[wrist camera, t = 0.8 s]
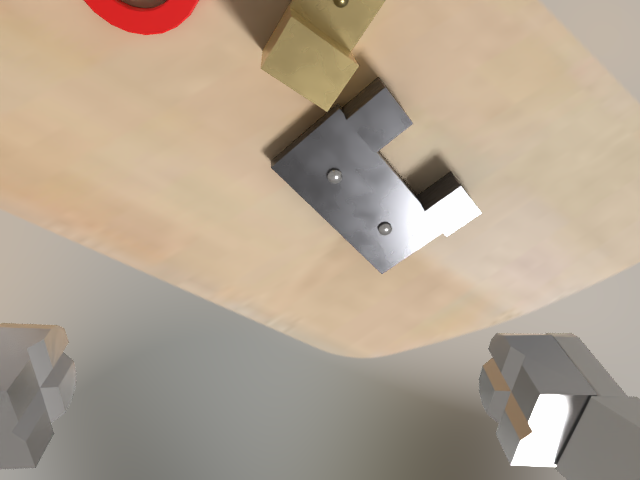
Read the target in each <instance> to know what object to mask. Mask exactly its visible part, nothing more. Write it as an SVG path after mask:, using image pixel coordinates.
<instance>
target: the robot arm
mask: <svg viewBox="0 0 640 480" xmlns="http://www.w3.org/2000/svg"><path fill="white" fill-rule="evenodd" d="M68 343H69V341H68V338H67V335H66V332H65V329H64V328H62V327H60V326H58V325H37V324H12V323H11V324H10V323H1V324H0V469H18V468H36V466H37V464H38V462H39V461H40V459H41V457H42V455H43V453H44V451H45V450H46V447H47V446H48V444H49V442H50V440H51V439H52V437H53V435H54V432H53V428H52V425H51V423H52V422H53V421H54V420H56V419H57V418H59V417H60V416H61V415H63V414H64V413H66V411H67V409H68V407H69V405H70V403H71V401H72V399H73V395H74V390H75V386H76V368H75V364H74V361H73V360H72V359H71V358H70V357H69V356H67V355H66V354H65V353H64V352H63V351H64V349H65V348H66V346H67V345H68ZM488 349H489V351H490V353H491V355H492V357H493V358H492V359H490V360H489V361H488V362H487V363H485V364H484V365H483V367H482V370H481V374H480V378H479V389H480V390H479V392H480V397H481V400H482V404H483V406H484V408H485V411H486V413H487V414H488V415H489V416H490V417H492V418H493V419H494V420H495V421H496V422H498V423H499V426H498V429H497V432H496V435H497V437H498V439H499V441H500V443H501V446H502V448H503V450H504V452H505V454H506V456H507V459H508V461H509V463H510V465H522V466H523V465H524V466H556V468H555V469H556V470H557V471H558V472H559V473H560V474H561V475H563V477H565V478H566V479H567V480H640V399H639V398H637V397H628V396H627V395H626V394H625V393H624V391H623V390H622V389H621V388H620V387H619V385H617V383H616V382H615V381H614V379H613V378H612V377H611V376H610V374H609V373H608V372H607V371H606V370H605V369H604V367H603V366H602V365H601V364H600V363H599V361H598V360H597V359H596V358H595V356H594V355H593V354H592V353H591V352H590V350H589V349H588V348H587V347H586V346H585V344H584V343H583V342H582V341H581V340H580V338H578V337H577V336H575V335H574V334H572V333H546V334H514V333H512V334H511V333H506V334H505V333H497V334H495V336H494V337H493V338H492V339H491V342H490V345H489V348H488Z"/></svg>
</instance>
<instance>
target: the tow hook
mask: <svg viewBox="0 0 640 480" xmlns="http://www.w3.org/2000/svg"><path fill="white" fill-rule="evenodd" d="M84 1H85V2H86V3H87V5H88V6H89V7H90V8H91V9H92V10H93V11H94V12H95V13H96V14H97V15H99V16H100V17H102V18H103V19H104V20H106V21H107V22H109V23H110V24H111V25H114V26H116V27H118V28H120V29H123V30H125V31H127V32H131V33H137V34H143V35H150V34H160V33H164V32H166V31H169V30H171V29H173V28H176V27H177V26H178V25H180V24H181V23H182V22H183V21H184V20H185V19H186V18H188V17H189V16H190V15H191V13H192V12H193V10H194V8H195V7H196V5H197V3H198V2H199V0H167V1H166V2H165V3H164V4H161V5H159V6H157V7H154V8H138V7H133V6H131V5H128V4H126V3H124V2H122V1H120V0H84Z"/></svg>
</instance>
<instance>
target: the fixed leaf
mask: <svg viewBox="0 0 640 480" xmlns="http://www.w3.org/2000/svg"><path fill="white" fill-rule="evenodd" d="M412 124H413V123H412V121H411V120H410V118H409V117H408V116H407V114H406V113H405V111H404V110H403V109H402V107H401V106H400V105H399V103H398V102H397V101H396V100H395V98H394V97H393V96H392V94H391V93H390V92H389V90H388V89H387V88H386V86H385V85H384V84H383V83H382V81H381V80H380V79H379V77H378V78H377V79H376V80H374V81H373V82H372V83H371V84H370V85H369V86H367V87H366V88H365V89H364V90H363V91H362V92H360V93H359V94H358V95H357V96H356V97H355V98H353V99H352V100H351V101H350V102H349V103H348V104H346V105H345V106H344V107H343V108H341V107H340V106H339V104H337V105H336V106H334V107H333V108H332V109H331V110H330V111H329V112H327V113H326V114H325V115H324V116H323V117H322V118H320V119H319V120H318V121H317V122H316V123H315V124H314V125H312V126H311V127H310V128H309V129H308V130H307V131H305V132H304V133H303V134H302V135H301V136H300V137H299V138H297V139H296V140H295V141H294V142H293V143H292V144H290V145H289V146H288V147H287V148H286V149H285V150H283V151H282V152H281V153H280V154H279V155H278V156H277V157H275V158H274V159H273V160H272V161H271V168H272V169H273V170H274V171H275V172H276V173H277V174H278V175H279V176H280V177H281V178H282V179H283V180H285V181H286V182H287V183H288V184H289V185H290V186H291V187H292V188H293V189H294V190H295V191H296V192H297V193H298V194H299V195H300V196H301V197H302V198H303V199H304V200H305V201H306V202H307V203H308V204H309V205H311V206H312V207H313V208H314V209H315V210H316V211H317V212H318V213H319V214H320V215H321V216H322V217H323V218H324V219H325V220H326V221H327V222H328V223H329V224H330V225H331V226H332V227H333V228H334V229H336V230H337V231H338V232H339V233H340V234H341V235H342V236H343V237H344V238H345V239H346V240H347V241H348V242H349V243H350V244H351V245H352V246H353V247H354V248H355V249H356V250H357V251H358V252H359V253H361V254H362V255H363V256H364V257H365V258H366V259H367V260H368V261H369V262H370V263H371V264H372V265H373V266H374V267H375V268H376V269H377V270H378V271H379V272H380V273H381V274H383V273H384V272H386V271H387V270H389V269H390V268H392V267H393V266H395V265H396V264H398V263H399V262H400V261H402V260H403V259H405V258H406V257H408V256H409V255H411V254H412V253H414V252H415V251H417V250H418V249H420V248H421V247H422V246H424V245H425V244H427V243H428V242H430V241H431V240H433V239H434V238H436V237H437V236H439V235H440V234H442V233H444V235H445V236H446V237H447V236H449V235H450V234H452V233H453V232H454V231H456V230H457V229H459V228H460V227H462V226H463V225H465V224H466V223H468V222H469V221H471V220H472V219H474V218H475V217H477V216H478V215H480V214H481V211H480V210H479V209H478V207H477V206H476V204H475V203H474V202H473V200H472V199H471V198H470V196H469V195H468V194H467V192H466V191H465V190H464V188H463V187H462V186H461V185H460V183H459V182H458V181H457V179H456V178H455V177H454V175H453V174H452V173H451V172H449V173H448V174H447V175H445V176H444V177H443V178H441V179H440V180H438V181H437V182H436V183H434V184H433V185H432V186H430V187H429V188H427V189H426V190H425V191H423V192H422V193H421V194H419V195H418V196H416V195H415V194H414V193H413V191H412V190H411V189H410V188H409V187H408V186H407V184H406V183H405V182H404V181H403V180H402V178H401V177H400V176H399V175H398V174H397V173H396V171H395V170H394V169H393V168H392V167H391V166H390V164H389V163H388V162H387V161H386V160H385V158H384V157H383V156H382V155H381V154H380V153H379V150H380V149H381V148H383V147H384V146H385V145H387V144H388V143H389V142H390V141H392V140H393V139H394V138H395V137H397V136H398V135H399V134H400V133H402V132H403V131H404V130H405V129H407V128H408V127H409V126H411V125H412Z"/></svg>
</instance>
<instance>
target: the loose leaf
mask: <svg viewBox="0 0 640 480" xmlns="http://www.w3.org/2000/svg"><path fill="white" fill-rule="evenodd" d="M384 2H385V0H291V2H290V4H289V6H288V7H287V9H286V11H285V13H284V14H283V16H282V18H281V20H280V21H279V23H278V25H277V27H276V28H275V30H274V32H273V33H272V35H271V37H270V39H269V40H268V42H267V44H266V46H265V47H264V49H263V52H262V62H261V69H262V70H264V71H265V72H267V73H268V74H270V75H271V76H273V77H274V78H276V79H277V80H279V81H281V82H282V83H284V84H285V85H287V86H288V87H290V88H291V89H293V90H294V91H296V92H297V93H299V94H300V95H302V96H303V97H305V98H306V99H308V100H310V101H311V102H313V103H314V104H316V105H317V106H319V107H320V108H322V109H323V110H325V111H326V112H328V110H329V109H330V107H331V106H332V104H333V103H334V102H335V100H336V99H337V97H338V96H339V94H340V93H341V91H342V90H343V89H344V87H345V86H346V84H347V83H348V81H349V80H350V78H351V77H352V76H353V74H354V73H355V71H356V70H357V68H358V67H359V64H358V63H357V61H356V59H355V58H354V56H353V55H352V53H351V51H352V49H353V48H354V47H355V45H356V44H357V42H358V41H359V39H360V38H361V36H362V35H363V33H364V32H365V30H366V29H367V27H368V26H369V24H370V23H371V21H372V20H373V18H374V17H375V15H376V14H377V12H378V11H379V9H380V8H381V6H382V5H383V3H384Z"/></svg>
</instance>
